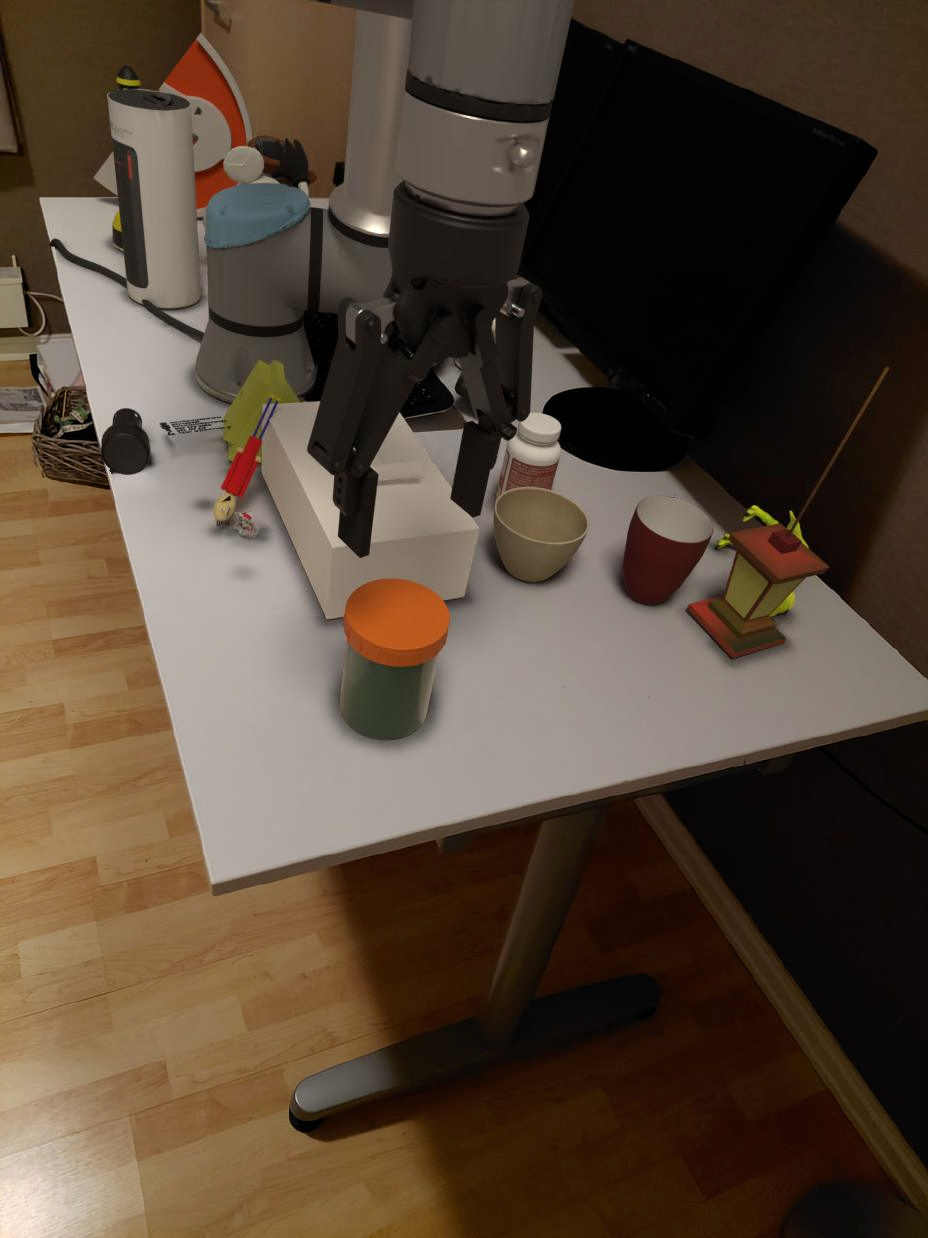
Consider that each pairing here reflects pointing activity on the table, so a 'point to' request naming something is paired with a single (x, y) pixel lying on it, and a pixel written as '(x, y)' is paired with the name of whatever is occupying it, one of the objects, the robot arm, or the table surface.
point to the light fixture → (762, 580)
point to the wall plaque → (204, 119)
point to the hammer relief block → (403, 517)
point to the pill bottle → (531, 454)
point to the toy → (250, 164)
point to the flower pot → (537, 531)
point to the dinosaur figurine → (768, 521)
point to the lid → (396, 622)
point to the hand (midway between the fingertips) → (411, 525)
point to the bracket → (255, 404)
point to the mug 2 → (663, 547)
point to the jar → (384, 695)
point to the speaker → (156, 195)
